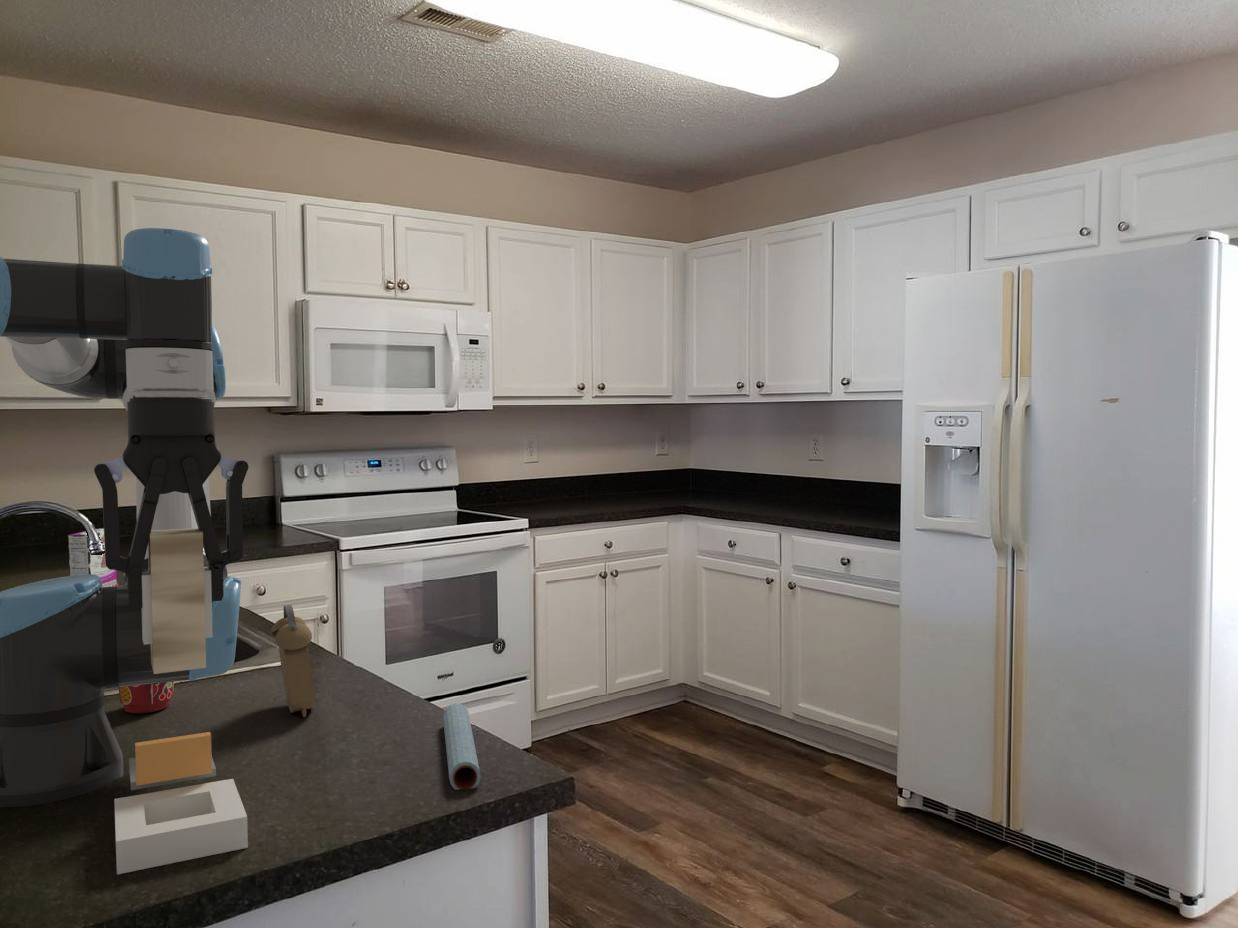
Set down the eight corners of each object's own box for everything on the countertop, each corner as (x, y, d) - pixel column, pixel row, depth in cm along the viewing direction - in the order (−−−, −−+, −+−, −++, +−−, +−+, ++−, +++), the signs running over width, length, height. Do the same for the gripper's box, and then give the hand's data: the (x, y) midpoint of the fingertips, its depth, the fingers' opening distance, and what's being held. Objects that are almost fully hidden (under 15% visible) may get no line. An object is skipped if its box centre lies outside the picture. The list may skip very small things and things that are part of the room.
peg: (151, 663, 93) (147, 530, 92) (201, 657, 95) (198, 527, 94) (154, 673, 89) (150, 535, 88) (206, 667, 91) (202, 532, 90)
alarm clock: (318, 719, 129) (315, 610, 128) (279, 724, 127) (277, 613, 126) (307, 698, 139) (305, 596, 138) (271, 702, 137) (269, 599, 136)
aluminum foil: (443, 729, 126) (442, 703, 126) (493, 725, 127) (493, 700, 127) (449, 794, 104) (449, 763, 104) (510, 788, 105) (510, 758, 105)
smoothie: (189, 707, 135) (185, 567, 134) (127, 720, 129) (122, 574, 128) (165, 695, 141) (161, 561, 140) (104, 708, 135) (100, 568, 134)
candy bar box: (97, 599, 219) (95, 528, 218) (119, 599, 219) (117, 528, 218) (69, 608, 208) (66, 534, 207) (91, 608, 208) (89, 533, 207)
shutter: (131, 794, 95) (129, 747, 95) (128, 765, 103) (127, 721, 103) (217, 779, 99) (216, 734, 99) (208, 752, 107) (207, 710, 107)
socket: (116, 874, 85) (115, 841, 85) (115, 828, 95) (114, 798, 94) (247, 847, 90) (247, 816, 90) (233, 806, 100) (233, 778, 100)
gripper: (63, 393, 83) (72, 657, 84) (274, 395, 92) (279, 635, 93) (65, 395, 90) (73, 640, 91) (262, 397, 98) (266, 621, 99)
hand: (177, 637), depth 92 cm, fingers closed on peg, 4 cm apart
